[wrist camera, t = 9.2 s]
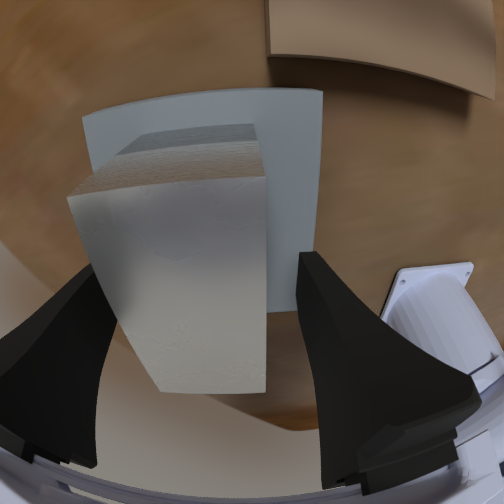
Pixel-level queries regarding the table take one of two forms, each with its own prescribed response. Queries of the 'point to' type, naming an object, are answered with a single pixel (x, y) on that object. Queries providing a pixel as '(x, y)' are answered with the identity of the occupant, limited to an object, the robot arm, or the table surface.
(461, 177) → the table surface
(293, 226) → the stand
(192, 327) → the block
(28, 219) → the table surface
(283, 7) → the stand
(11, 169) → the table surface
